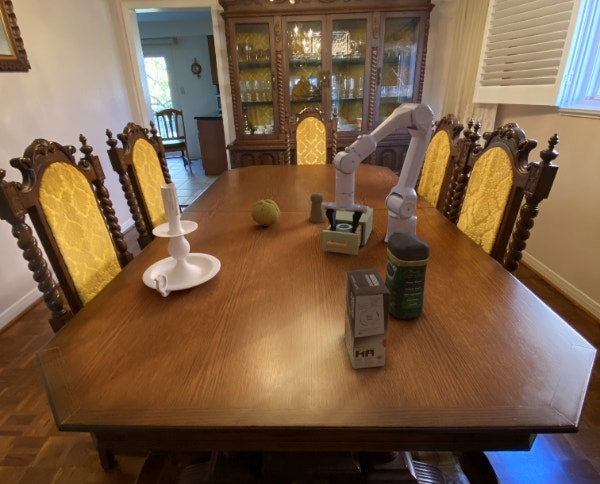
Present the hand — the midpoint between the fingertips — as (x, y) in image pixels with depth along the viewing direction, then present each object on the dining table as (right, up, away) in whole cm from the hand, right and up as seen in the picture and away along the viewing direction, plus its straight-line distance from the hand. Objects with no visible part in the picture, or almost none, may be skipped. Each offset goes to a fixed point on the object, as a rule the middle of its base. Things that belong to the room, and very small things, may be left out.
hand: (343, 232), depth 111 cm
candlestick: (-47, -14, -16) cm, 51 cm away
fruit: (-27, +2, +22) cm, 35 cm away
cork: (-7, +4, +26) cm, 28 cm away
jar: (0, -3, +1) cm, 4 cm away
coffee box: (-2, -23, -42) cm, 48 cm away
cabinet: (+4, -1, +11) cm, 12 cm away
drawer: (0, -5, +1) cm, 5 cm away
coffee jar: (+10, -18, -29) cm, 36 cm away
